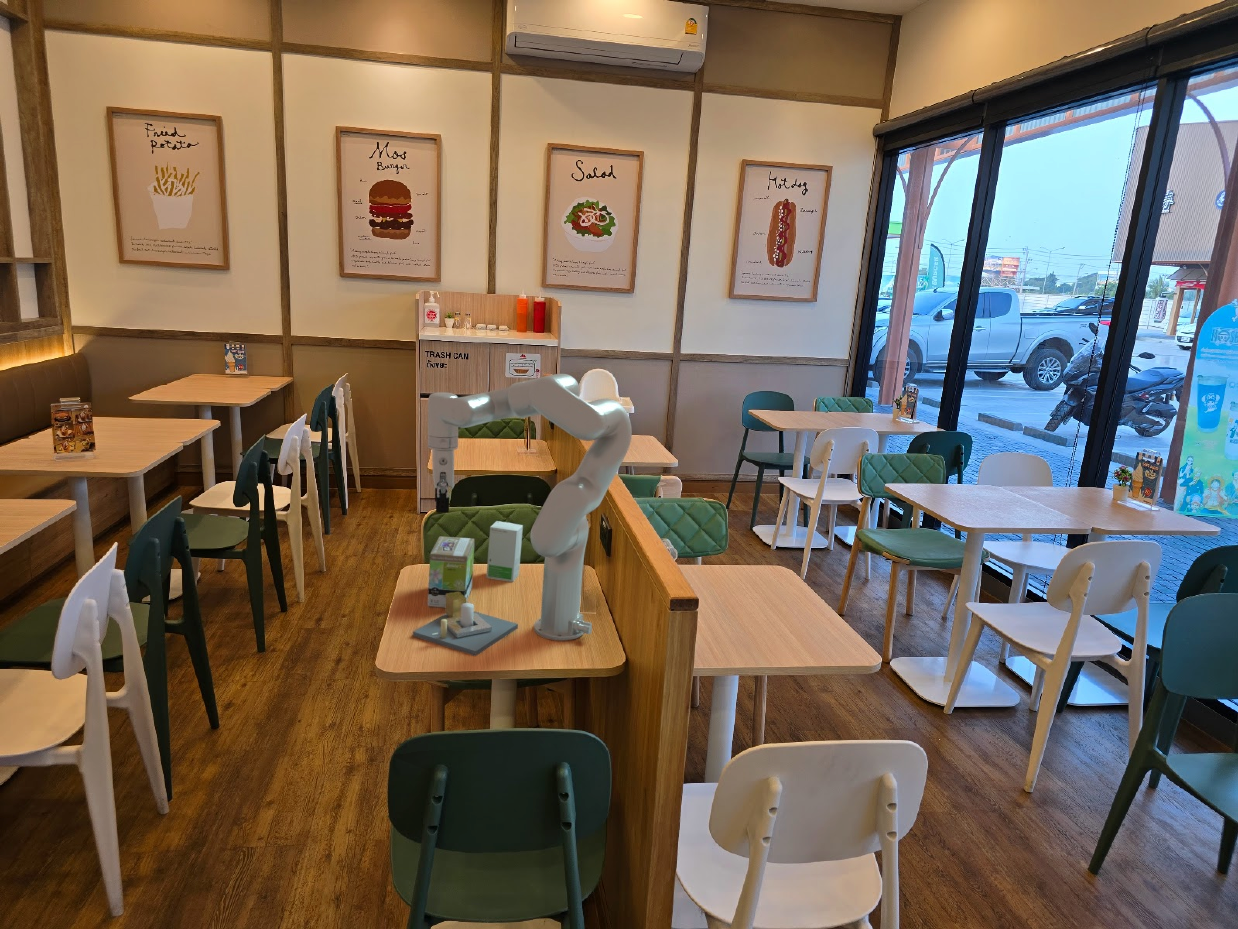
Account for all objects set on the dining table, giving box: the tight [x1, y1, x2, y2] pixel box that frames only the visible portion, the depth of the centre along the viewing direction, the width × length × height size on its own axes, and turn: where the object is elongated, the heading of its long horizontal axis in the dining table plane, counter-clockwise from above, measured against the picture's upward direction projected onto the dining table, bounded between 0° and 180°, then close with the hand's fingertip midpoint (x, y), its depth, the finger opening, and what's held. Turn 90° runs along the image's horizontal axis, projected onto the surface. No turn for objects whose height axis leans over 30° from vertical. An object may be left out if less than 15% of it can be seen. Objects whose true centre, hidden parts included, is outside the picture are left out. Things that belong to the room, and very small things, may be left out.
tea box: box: [427, 535, 475, 609], centre depth 217 cm, size 15×10×15 cm, turn 3°
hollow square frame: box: [444, 592, 492, 638], centre depth 200 cm, size 14×9×6 cm, turn 35°
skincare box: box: [486, 520, 524, 583], centre depth 234 cm, size 8×7×16 cm
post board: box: [412, 602, 519, 657], centre depth 198 cm, size 18×18×7 cm
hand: (441, 506), depth 210 cm, fingers open, 9 cm apart
